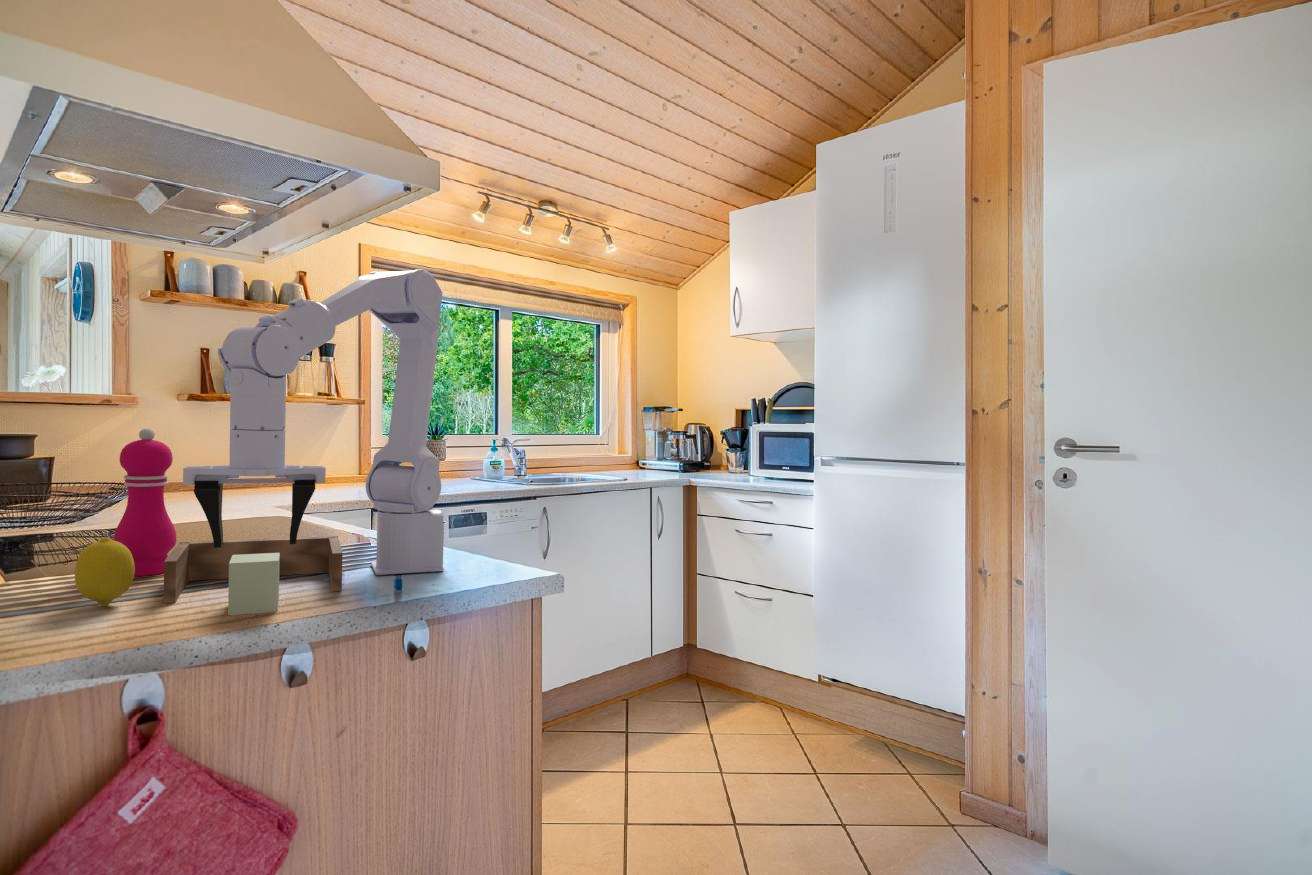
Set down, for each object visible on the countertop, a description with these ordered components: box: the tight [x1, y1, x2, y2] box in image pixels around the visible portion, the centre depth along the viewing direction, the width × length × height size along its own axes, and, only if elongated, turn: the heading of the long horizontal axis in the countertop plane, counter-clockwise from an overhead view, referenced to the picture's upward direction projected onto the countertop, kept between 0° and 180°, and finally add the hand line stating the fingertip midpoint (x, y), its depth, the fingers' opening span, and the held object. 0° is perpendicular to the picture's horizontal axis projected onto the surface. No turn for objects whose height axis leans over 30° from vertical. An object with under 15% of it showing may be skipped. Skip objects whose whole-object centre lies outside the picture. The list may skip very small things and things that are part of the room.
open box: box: [163, 535, 344, 604], centre depth 95 cm, size 19×13×5 cm, turn 117°
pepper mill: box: [112, 427, 178, 578], centre depth 99 cm, size 7×7×20 cm
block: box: [227, 553, 280, 616], centre depth 85 cm, size 5×5×6 cm
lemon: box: [74, 536, 135, 607], centre depth 83 cm, size 6×6×8 cm
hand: (256, 544), depth 85 cm, fingers open, 7 cm apart
